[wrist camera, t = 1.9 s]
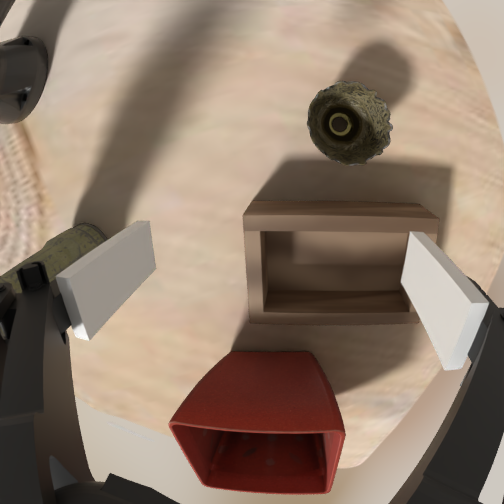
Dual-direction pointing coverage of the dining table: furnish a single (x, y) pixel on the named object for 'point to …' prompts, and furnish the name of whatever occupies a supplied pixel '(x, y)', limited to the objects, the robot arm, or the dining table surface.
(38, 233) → the dining table surface
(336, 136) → the olive textured bell shape
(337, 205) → the walnut box
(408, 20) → the dining table surface
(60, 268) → the thermos
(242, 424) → the plant pot
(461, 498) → the robot arm
